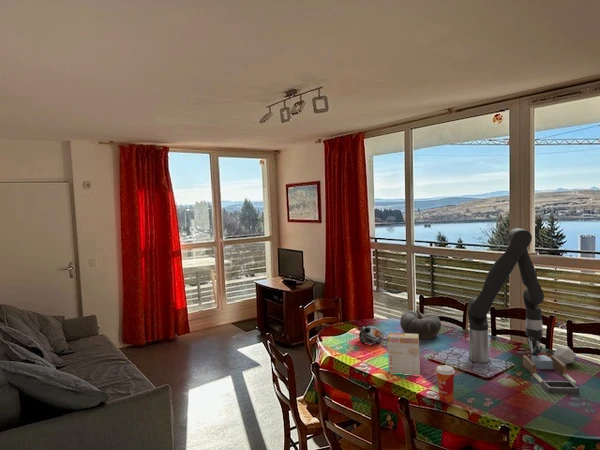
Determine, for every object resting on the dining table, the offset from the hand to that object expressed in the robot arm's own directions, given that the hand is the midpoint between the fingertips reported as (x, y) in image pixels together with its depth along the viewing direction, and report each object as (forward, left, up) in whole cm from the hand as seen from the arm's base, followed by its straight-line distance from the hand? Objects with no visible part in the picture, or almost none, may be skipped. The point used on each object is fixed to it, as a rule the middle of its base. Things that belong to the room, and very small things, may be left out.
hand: (534, 359), depth 210 cm
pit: (-2, -32, -1) cm, 32 cm away
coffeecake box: (-68, -17, -1) cm, 70 cm away
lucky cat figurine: (-83, +26, -1) cm, 87 cm away
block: (+1, -6, -1) cm, 6 cm away
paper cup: (-53, -44, -1) cm, 69 cm away
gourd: (-52, +40, -1) cm, 66 cm away
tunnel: (0, -11, -1) cm, 11 cm away
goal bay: (0, -21, -1) cm, 21 cm away
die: (+14, -1, -1) cm, 14 cm away
